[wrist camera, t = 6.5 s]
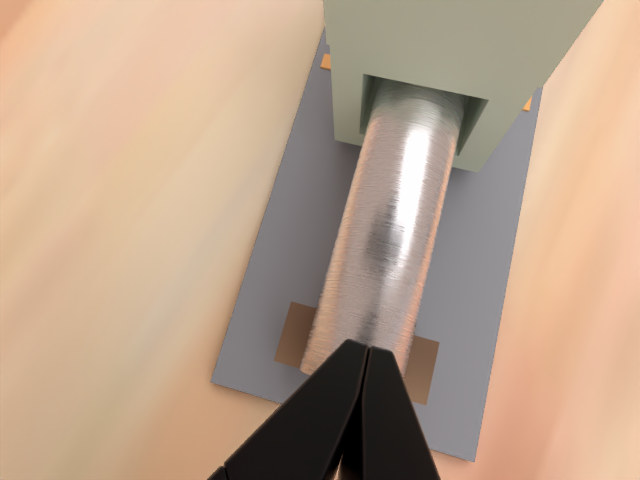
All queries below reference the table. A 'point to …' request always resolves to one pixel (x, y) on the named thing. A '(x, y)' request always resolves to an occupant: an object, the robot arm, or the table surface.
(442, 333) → the pipe rig
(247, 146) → the table surface
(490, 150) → the pale green stepped block
